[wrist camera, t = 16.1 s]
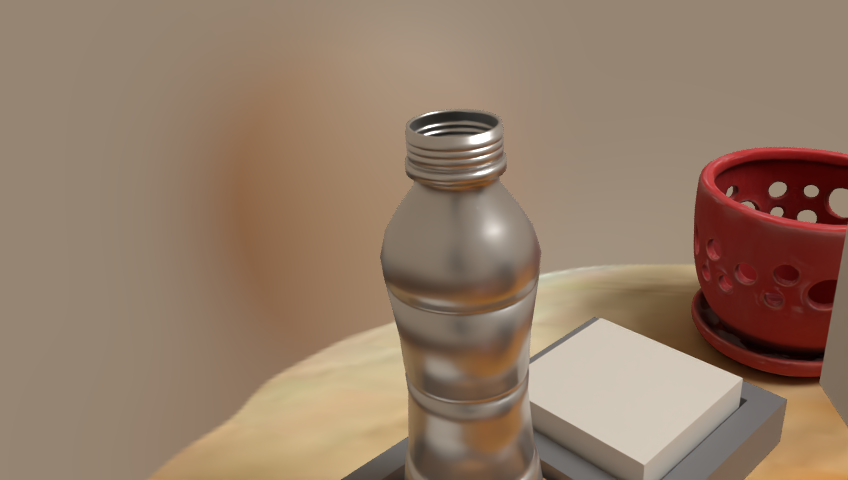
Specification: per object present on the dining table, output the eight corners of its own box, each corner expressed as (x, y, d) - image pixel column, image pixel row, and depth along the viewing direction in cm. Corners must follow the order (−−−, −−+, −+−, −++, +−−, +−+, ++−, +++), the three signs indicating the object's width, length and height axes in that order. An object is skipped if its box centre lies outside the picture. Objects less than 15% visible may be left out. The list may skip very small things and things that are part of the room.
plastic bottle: (447, 606, 32) (412, 167, 24) (386, 503, 38) (340, 117, 29) (572, 548, 35) (582, 128, 26) (497, 459, 40) (484, 89, 32)
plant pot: (664, 370, 50) (677, 203, 45) (703, 280, 60) (718, 136, 55) (892, 423, 44) (939, 237, 39) (893, 314, 54) (930, 155, 49)
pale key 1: (738, 407, 42) (742, 378, 42) (642, 496, 37) (644, 465, 36) (600, 344, 49) (601, 317, 48) (500, 412, 43) (499, 383, 43)
